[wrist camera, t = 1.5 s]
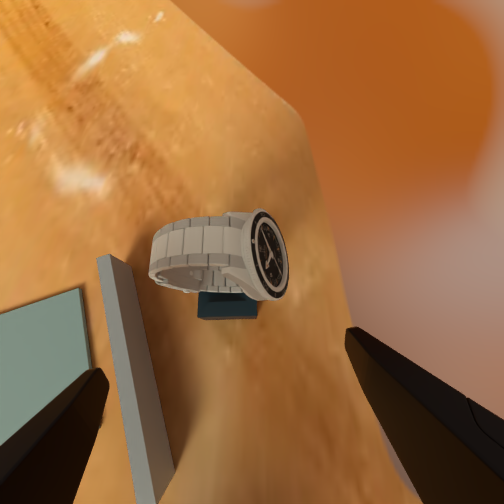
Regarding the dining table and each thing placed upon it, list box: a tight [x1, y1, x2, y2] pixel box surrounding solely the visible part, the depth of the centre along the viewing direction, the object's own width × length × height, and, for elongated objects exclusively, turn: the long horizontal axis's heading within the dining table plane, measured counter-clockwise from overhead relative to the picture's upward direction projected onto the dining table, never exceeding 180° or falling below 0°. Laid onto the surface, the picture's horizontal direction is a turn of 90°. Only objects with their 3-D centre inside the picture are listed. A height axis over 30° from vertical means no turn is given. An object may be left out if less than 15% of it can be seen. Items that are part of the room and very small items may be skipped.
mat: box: [0, 288, 100, 445], centre depth 18 cm, size 11×10×1 cm
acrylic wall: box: [96, 254, 175, 504], centre depth 17 cm, size 16×1×4 cm, turn 21°
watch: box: [149, 208, 289, 320], centre depth 16 cm, size 6×8×11 cm
